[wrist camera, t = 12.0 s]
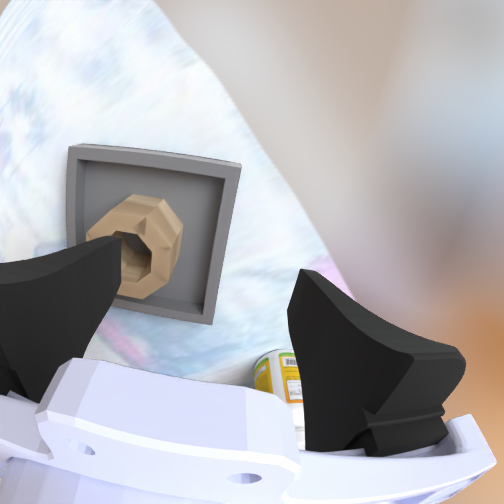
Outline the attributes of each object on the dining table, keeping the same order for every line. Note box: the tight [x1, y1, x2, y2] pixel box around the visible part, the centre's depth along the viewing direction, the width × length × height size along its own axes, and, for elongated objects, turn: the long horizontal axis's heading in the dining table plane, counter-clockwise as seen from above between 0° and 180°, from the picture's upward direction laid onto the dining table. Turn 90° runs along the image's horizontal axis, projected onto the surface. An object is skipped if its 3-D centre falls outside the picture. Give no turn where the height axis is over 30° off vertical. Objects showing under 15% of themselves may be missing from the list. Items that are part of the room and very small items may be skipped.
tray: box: [66, 144, 242, 325], centre depth 19 cm, size 12×12×2 cm
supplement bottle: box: [254, 349, 305, 450], centre depth 22 cm, size 5×5×10 cm
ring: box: [86, 194, 183, 299], centre depth 18 cm, size 5×5×4 cm
